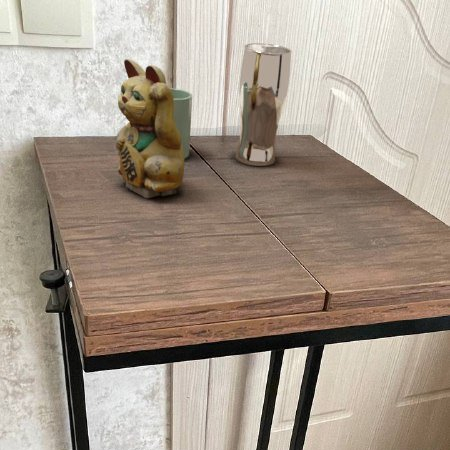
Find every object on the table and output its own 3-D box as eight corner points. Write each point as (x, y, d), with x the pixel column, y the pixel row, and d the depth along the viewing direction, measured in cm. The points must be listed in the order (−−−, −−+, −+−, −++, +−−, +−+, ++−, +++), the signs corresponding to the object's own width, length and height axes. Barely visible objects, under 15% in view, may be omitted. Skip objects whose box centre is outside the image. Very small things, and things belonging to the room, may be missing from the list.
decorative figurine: (105, 182, 83) (101, 55, 73) (151, 170, 88) (153, 49, 78) (155, 206, 78) (157, 74, 69) (201, 192, 83) (209, 67, 74)
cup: (188, 148, 96) (191, 89, 91) (189, 161, 92) (192, 100, 87) (149, 145, 96) (150, 86, 91) (148, 158, 91) (149, 97, 86)
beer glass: (286, 160, 96) (302, 50, 87) (263, 171, 91) (277, 56, 82) (247, 148, 99) (259, 40, 89) (223, 158, 94) (233, 46, 85)
